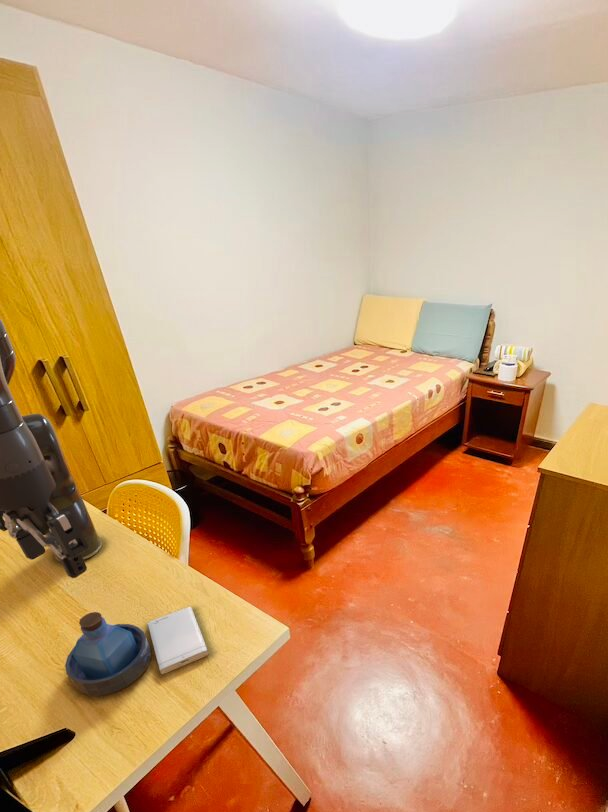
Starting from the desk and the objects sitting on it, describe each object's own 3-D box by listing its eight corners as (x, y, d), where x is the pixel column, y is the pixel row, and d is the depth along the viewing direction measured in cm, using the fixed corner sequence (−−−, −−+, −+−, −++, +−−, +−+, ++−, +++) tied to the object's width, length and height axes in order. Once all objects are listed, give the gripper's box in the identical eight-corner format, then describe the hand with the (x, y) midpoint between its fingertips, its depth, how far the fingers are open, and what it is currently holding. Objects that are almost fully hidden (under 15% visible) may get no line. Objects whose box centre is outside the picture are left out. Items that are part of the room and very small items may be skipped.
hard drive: (146, 622, 82) (159, 669, 74) (191, 605, 86) (207, 649, 78) (149, 627, 83) (161, 675, 75) (192, 611, 87) (209, 654, 78)
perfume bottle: (116, 683, 73) (92, 638, 66) (85, 675, 73) (58, 630, 67) (140, 653, 78) (120, 609, 71) (111, 647, 78) (88, 602, 72)
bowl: (69, 659, 76) (60, 645, 74) (142, 627, 83) (136, 613, 80) (80, 710, 69) (71, 697, 66) (159, 671, 75) (154, 658, 73)
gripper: (75, 462, 50) (117, 563, 60) (-1, 437, 55) (49, 535, 64) (8, 492, 45) (66, 599, 54) (-71, 461, 49) (-5, 565, 58)
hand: (57, 564), depth 59 cm, fingers open, 8 cm apart
